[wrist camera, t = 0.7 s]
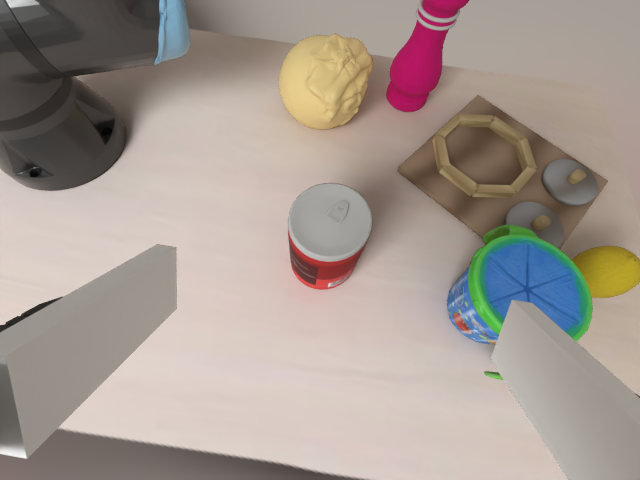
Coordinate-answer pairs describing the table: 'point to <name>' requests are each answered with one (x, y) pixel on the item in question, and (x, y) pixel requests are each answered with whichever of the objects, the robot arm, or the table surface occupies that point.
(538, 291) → the snack cup
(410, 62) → the pepper mill
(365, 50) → the sculpture
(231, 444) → the table surface
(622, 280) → the lemon
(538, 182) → the board
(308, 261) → the canned food
